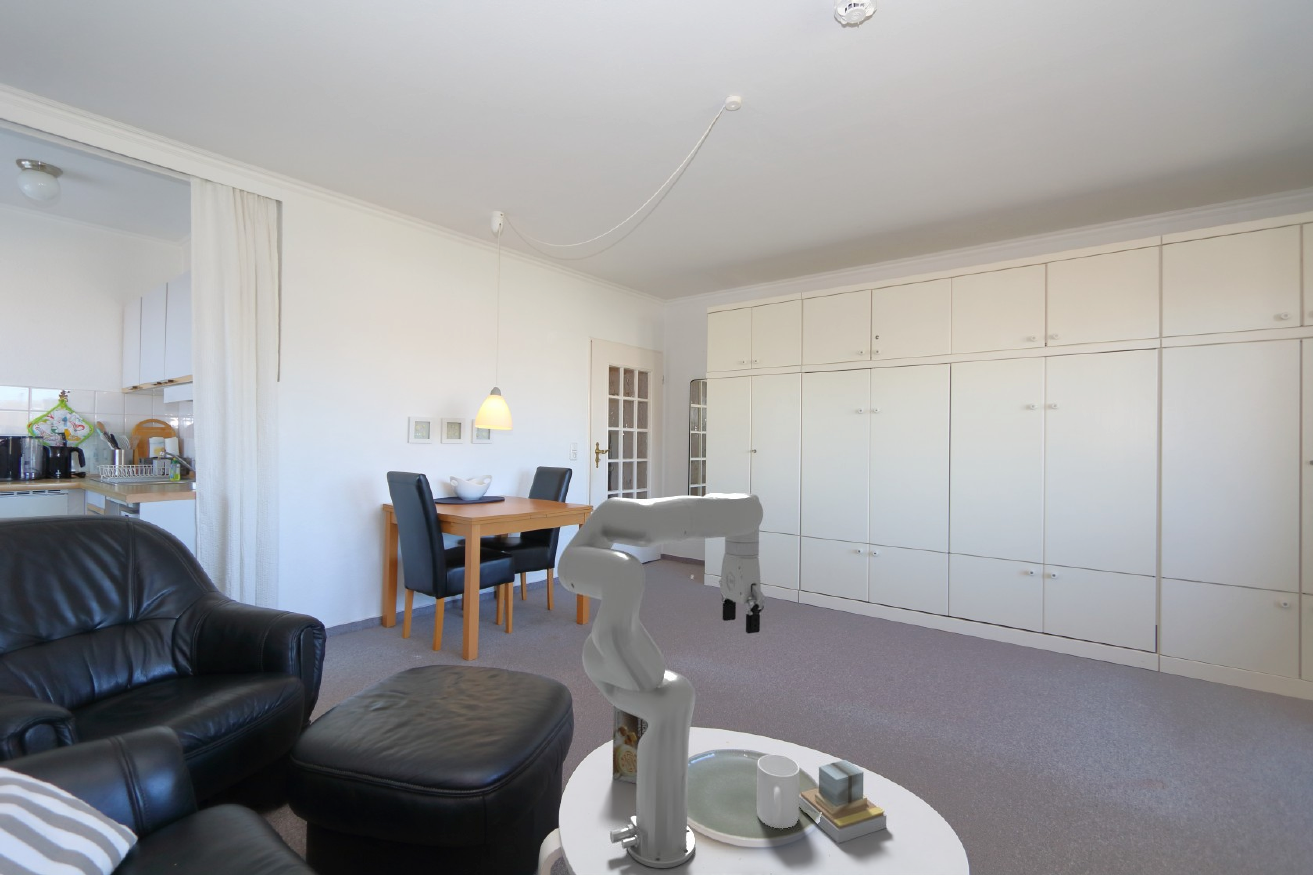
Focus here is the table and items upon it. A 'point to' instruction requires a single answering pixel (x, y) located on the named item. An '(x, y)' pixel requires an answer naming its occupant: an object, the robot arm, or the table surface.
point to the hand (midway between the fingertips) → (740, 625)
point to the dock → (845, 818)
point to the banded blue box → (840, 787)
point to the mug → (778, 791)
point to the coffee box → (626, 744)
